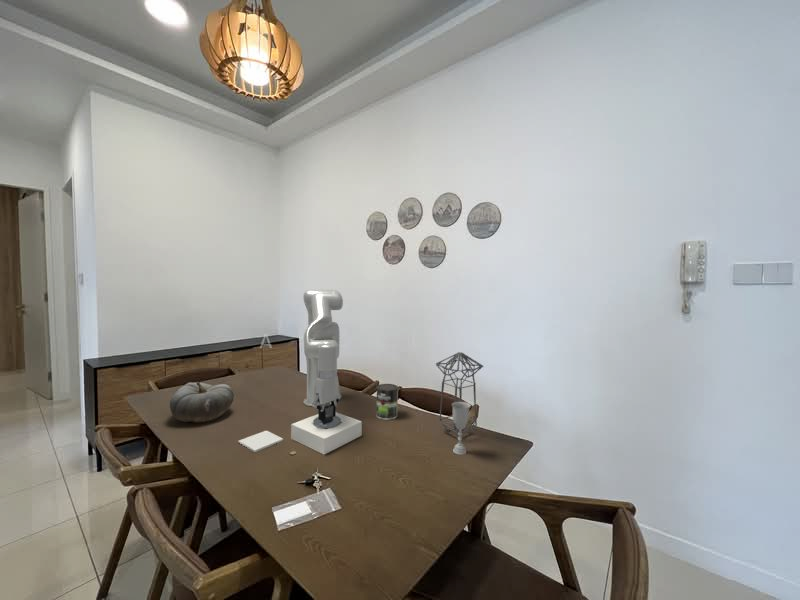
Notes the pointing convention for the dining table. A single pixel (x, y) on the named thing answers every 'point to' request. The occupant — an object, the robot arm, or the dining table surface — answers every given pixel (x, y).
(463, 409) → the chalice
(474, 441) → the dining table surface
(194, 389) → the gourd
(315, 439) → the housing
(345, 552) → the dining table surface
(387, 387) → the coffee can
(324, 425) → the grey round knobbed piece
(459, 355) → the geometric lantern
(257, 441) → the mat
